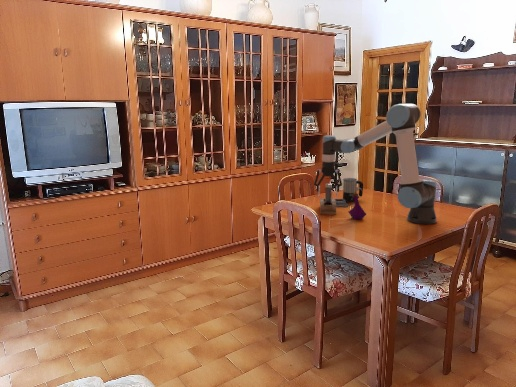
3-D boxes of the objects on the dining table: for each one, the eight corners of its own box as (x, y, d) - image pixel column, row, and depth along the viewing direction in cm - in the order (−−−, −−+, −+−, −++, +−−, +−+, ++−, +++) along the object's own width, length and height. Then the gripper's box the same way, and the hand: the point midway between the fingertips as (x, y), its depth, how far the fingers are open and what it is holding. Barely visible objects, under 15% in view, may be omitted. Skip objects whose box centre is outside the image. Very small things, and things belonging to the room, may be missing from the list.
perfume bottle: (354, 220, 225) (355, 189, 221) (348, 217, 232) (349, 186, 228) (366, 219, 227) (367, 188, 223) (359, 216, 234) (360, 186, 230)
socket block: (347, 206, 255) (348, 202, 254) (331, 206, 256) (331, 201, 256) (346, 202, 265) (346, 198, 264) (331, 202, 266) (331, 198, 265)
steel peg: (330, 206, 249) (331, 184, 246) (324, 206, 249) (326, 184, 247) (330, 205, 252) (331, 183, 250) (324, 205, 253) (325, 183, 250)
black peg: (331, 210, 240) (331, 188, 237) (325, 210, 241) (325, 188, 238) (330, 209, 244) (331, 186, 241) (324, 209, 244) (325, 186, 241)
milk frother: (348, 202, 265) (348, 180, 261) (333, 198, 279) (334, 177, 275) (364, 200, 271) (365, 178, 268) (349, 195, 285) (350, 175, 281)
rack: (335, 214, 238) (336, 205, 236) (320, 214, 239) (320, 205, 238) (334, 206, 255) (334, 198, 254) (319, 206, 256) (320, 198, 255)
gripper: (346, 160, 247) (345, 195, 252) (310, 160, 250) (309, 195, 255) (347, 162, 239) (346, 198, 244) (309, 161, 242) (309, 197, 247)
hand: (327, 196), depth 250 cm, fingers open, 10 cm apart
